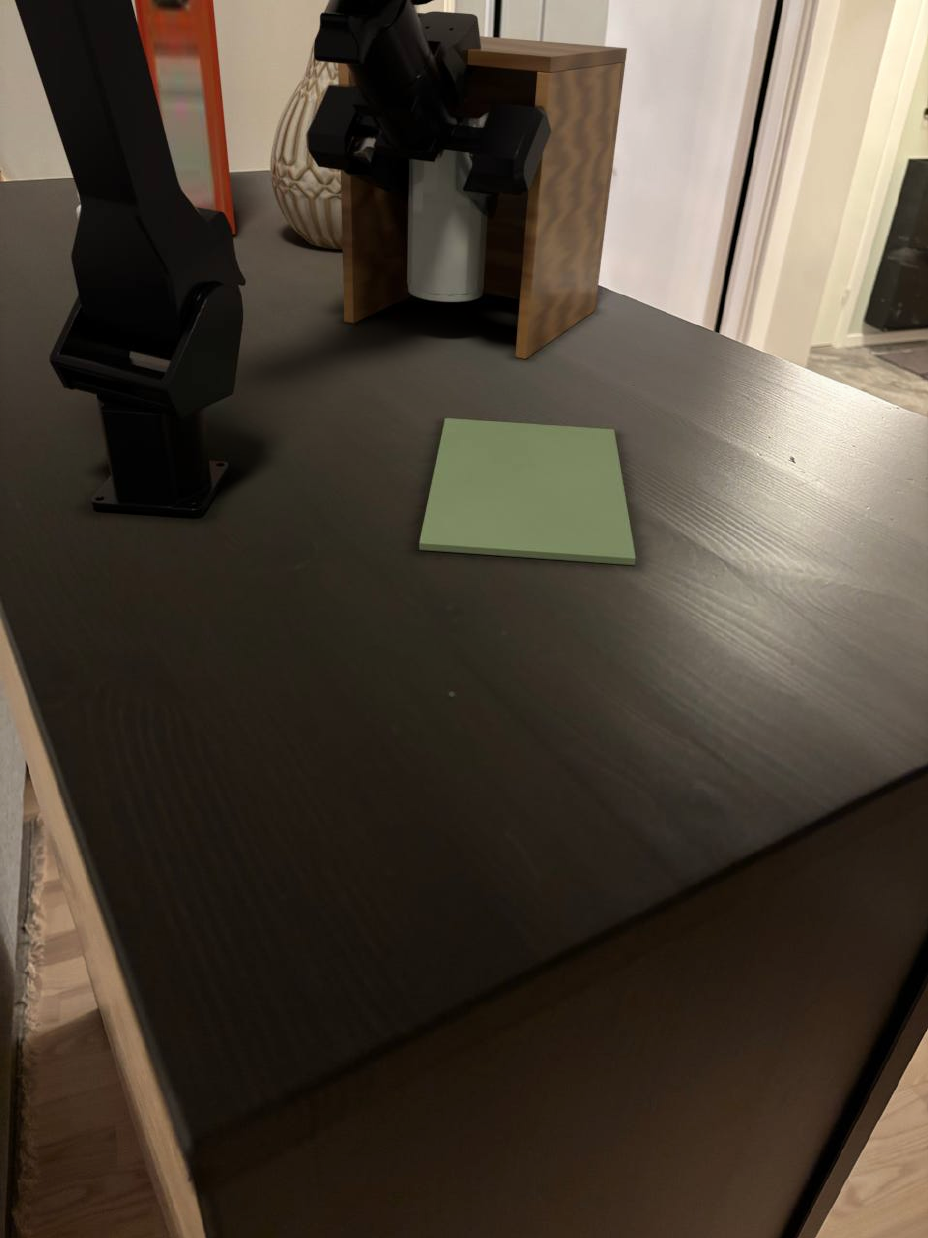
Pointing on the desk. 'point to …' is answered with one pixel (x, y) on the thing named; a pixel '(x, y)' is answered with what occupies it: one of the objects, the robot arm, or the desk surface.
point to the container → (444, 231)
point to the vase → (307, 164)
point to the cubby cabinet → (523, 224)
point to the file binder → (189, 96)
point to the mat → (528, 493)
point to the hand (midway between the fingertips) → (456, 207)
